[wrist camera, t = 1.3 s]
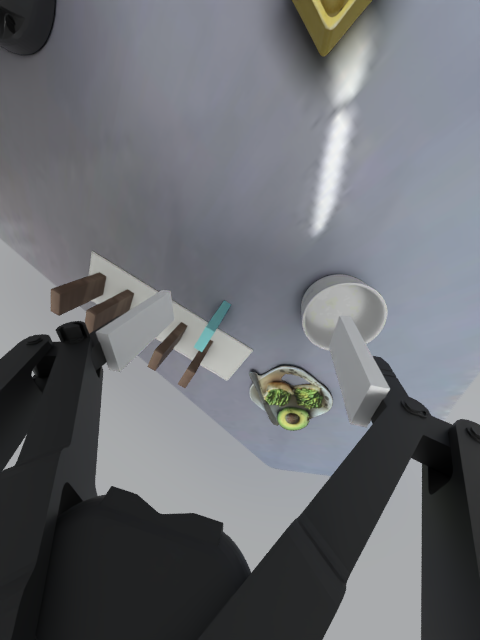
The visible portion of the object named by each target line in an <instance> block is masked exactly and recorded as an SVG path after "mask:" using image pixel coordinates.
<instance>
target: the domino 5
mask: <svg viewBox="0 0 480 640" xmlns="http://www.w3.org/2000/svg"><path fill="white" fill-rule="evenodd" d="M212 343H213V341H212V340H209V342H208V344H207V345H206V347H205V348H204V350H203V351H202V352H201V351H198V353H197V354H196V356H195V357H194V359H193V361H192V362H191V364H190V365H189V367H188V368H187V370H186V372H185V373H184V375H183V376H182V378H181V380H180V381H179V383H178V384H179V385H180V386H182V387H184V388H186V386H187V385H188V383H189V382H190V380H191V379H192V377H193V376H194V374H195V373H196V371H197V369H198V367H199V366H200V364H201V362H202V360H203V359H204V357H205V355H206V353H207V352H208V350H209V348H210V346H211V345H212Z"/></svg>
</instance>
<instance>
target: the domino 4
mask: <svg viewBox="0 0 480 640" xmlns="http://www.w3.org/2000/svg"><path fill="white" fill-rule="evenodd" d="M186 328H187V325H186V324H184V323H182V322H181V323H180V324H179V325H178V326H177V327H176V328H175V329H174V330H173V331H172V332H171V333H170V334H169V335H168V336H167V338H166V339H165V340H164V341H163V342H162V343H161V344H160V345H159V346H158V347H157V348H156V349H155V351H154V353H153V355H152V357H151V360H150V362H149V364H148V367H149V368H151V369H153V370H154V371H155V370H156V369H157V368H158V367H159V365H160V364H161V363H162V362H163V361H164V359H165V358H166V357H167V356H168V355H169V353H170V352H171V351H172V350H173V348H174V347H175V346H176V345H177V344H178V342H179V341H180V339H181V338H182V336H183V334H184V332H185V330H186Z"/></svg>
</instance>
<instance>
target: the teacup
mask: <svg viewBox="0 0 480 640" xmlns="http://www.w3.org/2000/svg"><path fill="white" fill-rule="evenodd" d="M340 315H341V316H348V317H351V318H352V320H353V321H354V323H355V325H356V327H357V329H358V331H359V332H360V334H361V336H362V338H363V340H364V342H365V343H366V344H367V343H369V342H370V341H372V340H373V339H374V338H375V337H376V336H377V335H378V334H379V333H380V332H381V330H382V329H383V327H384V325H385V322H386V318H387V306H386V303H385V300H384V299H383V297H382V296H381V294H380V293H379V292H378V291H376V290H375V289H374V288H372V287H370V286H368V285H366V284H365V283H364V282H362V281H361V280H359V279H357V278H355V277H352V276H348V275H342V274H338V275H330V276H326V277H324V278H321V279H319V280H318V281H316V282H315V283H314V284H312V285H311V286H310V287H309V288H308V290H307V291H306V293H305V294H304V296H303V299H302V303H301V317H302V327H303V330H304V333H305V335H306V336H307V338H308V339H309V340H310V341H311V342H312V343H313V344H314V345H316V346H318V347H319V348H322V349H324V350H328V351H330V348H329V345H330V342H331V339H332V336H333V333H334V330H335V327H336V324H337V321H338V318H339V316H340Z"/></svg>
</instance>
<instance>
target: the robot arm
mask: <svg viewBox="0 0 480 640" xmlns="http://www.w3.org/2000/svg"><path fill="white" fill-rule="evenodd" d="M54 7H55V0H0V46H1V47H3V48H5V49H7V50H9V51H11V52H13V53H16V54H21V55H28V54H32V53H34V52H36V51H37V50H39V49H40V48H41V47H42V46H43V44H44V43H45V41H46V40H47V38H48V35H49V33H50V30H51V27H52V22H53V16H54ZM173 321H174V313H173V305H172V297H171V291H168V290H161V291H159V292H158V293H156V294H155V295H153V296H152V297H150V298H148V299H147V300H145V301H144V302H142V303H141V304H139V305H137V306H136V307H134V308H133V309H131V310H130V311H128V312H126V313H125V314H123V315H120V316H117V317H115V318H114V319H112V320H111V321H110V322H107V323H106V324H105V325H103V326H101V327H99V328H98V329H96V330H95V331H93V332H91V333H90V334H89V332H88V329H87V327H86V324H85V323H84V322H81V321H75V322H69V323H66V324H63V325H61V326H59V327H58V328H57V329H56V331H57V334H58V336H59V338H60V340H61V342H52V340H51V338H50V337H49V335H43V334H42V335H34V336H30V337H28V338H26V339H24V340H22V341H21V342H19V343H18V344H17V345H16V346H15V347H14V348H13V349H12V350H11V351H9V352H8V353H7V354H6V355H5V356H3V357H2V358H1V359H0V640H322V639H323V637H324V635H325V633H326V631H327V629H328V628H329V626H330V624H331V622H332V620H333V618H334V616H335V614H336V612H337V610H338V608H339V605H340V603H341V601H342V599H343V597H344V594H345V591H346V583H347V580H348V578H349V576H350V573H351V571H352V570H353V568H354V566H355V564H356V562H357V560H358V558H359V556H360V554H361V552H362V550H363V549H364V547H365V545H366V543H367V541H368V539H369V537H370V535H371V533H372V531H373V529H374V528H375V526H376V524H377V522H378V520H379V518H380V516H381V514H382V512H383V510H384V508H385V506H386V504H387V502H388V501H389V499H390V497H391V495H392V493H393V491H394V489H395V487H396V485H397V483H398V482H399V480H400V478H401V476H402V474H403V472H404V470H405V468H406V466H407V464H408V462H409V460H410V459H411V458H413V459H415V460H417V461H418V462H420V463H422V593H421V606H422V607H421V612H422V613H421V640H480V425H479V424H477V423H475V422H472V421H469V420H464V419H460V420H457V421H456V422H455V423H454V424H453V425H452V424H449V423H447V422H445V421H442V420H440V419H437V418H435V417H433V416H431V414H430V413H429V411H428V409H427V408H426V407H425V406H424V405H422V404H421V403H420V402H418V401H417V400H415V399H413V398H411V397H409V396H408V395H407V393H406V392H405V390H404V388H403V387H402V385H401V384H400V382H399V380H398V379H397V378H396V375H395V374H394V372H392V369H391V367H390V366H389V364H388V363H387V362H386V361H384V360H383V359H382V358H381V357H376V356H372V354H371V353H370V351H369V349H368V347H367V345H366V343H365V342H364V340H363V338H362V336H361V334H360V332H359V331H358V329H357V327H356V325H355V323H354V321H353V320H352V318H351V317H348V316H341V315H340V316H339V318H338V321H337V324H336V327H335V330H334V333H333V336H332V339H331V342H330V345H329V348H330V352H331V356H332V359H333V363H334V367H335V370H336V374H337V378H338V381H339V385H340V389H341V392H342V396H343V400H344V403H345V407H346V411H347V414H348V418H349V422H350V424H353V425H357V426H362V427H366V428H367V426H368V424H369V423H370V421H372V423H373V425H372V426H371V427H370V428H369V430H368V431H367V432H366V433H365V435H364V436H363V437H362V438H361V440H360V441H359V442H358V443H357V445H356V446H355V447H354V448H353V450H352V451H351V452H350V453H349V455H348V456H347V457H346V458H345V460H344V461H343V462H342V463H341V465H340V466H339V467H338V468H337V470H336V471H335V472H334V474H333V475H332V476H331V477H330V479H329V480H328V481H327V482H326V484H325V485H324V486H323V487H322V489H321V490H320V491H319V492H318V494H317V495H316V496H315V497H314V499H313V500H312V501H311V502H310V504H309V505H308V506H307V507H306V509H305V510H304V511H303V513H302V514H301V515H300V516H299V517H298V518H297V519H295V520H294V521H293V523H291V525H290V526H289V527H288V528H287V529H286V531H285V532H284V533H283V534H282V536H281V537H280V538H279V539H278V541H277V542H276V543H275V545H274V546H273V547H272V548H271V549H270V551H269V552H268V553H267V554H266V556H265V557H264V558H263V559H262V561H261V562H260V563H259V564H258V566H257V567H256V568H255V569H254V570H253V572H252V573H251V571H250V569H249V567H248V564H247V562H246V560H245V558H244V556H243V554H242V553H241V551H240V550H239V548H238V547H237V545H236V544H235V543H234V542H233V541H232V539H231V538H230V537H229V536H228V535H226V534H225V533H224V532H223V523H222V522H219V521H216V520H213V519H210V518H207V517H204V516H201V515H198V514H194V513H187V514H160V513H158V512H157V511H156V510H154V509H153V508H152V507H151V506H150V505H149V504H148V503H146V502H145V501H144V500H143V499H142V498H141V497H139V496H138V495H137V494H134V493H131V492H128V491H125V490H122V489H119V488H116V487H113V486H111V488H110V489H109V491H108V492H107V494H106V495H101V496H97V493H96V488H95V475H96V461H97V448H98V434H99V421H100V408H101V393H102V380H103V369H102V365H104V364H105V363H106V362H107V365H108V368H109V370H113V371H118V372H121V371H122V370H123V369H124V368H125V367H126V366H127V365H128V364H129V363H130V362H131V361H132V360H133V359H134V358H135V357H136V356H137V355H138V354H140V353H141V352H142V351H143V350H144V349H145V348H146V347H147V346H148V345H149V344H150V343H151V342H152V341H153V340H154V339H155V338H156V337H157V336H158V335H159V334H160V333H161V332H162V331H163V330H164V329H166V328H167V327H168V326H169V325H170V324H171V323H172V322H173ZM32 370H33V372H34V374H35V375H34V376H33V377H32V376H31V373H32ZM26 435H27V436H26ZM25 436H26V439H25V442H24V444H23V447H22V450H21V452H20V455H19V457H18V461H17V462H16V464H15V466H13V467H11V468H8V469H5V470H3V469H4V468H5V466H6V465H7V463H8V461H9V460H10V459H11V457H12V456H13V454H14V452H15V451H16V449H17V448H18V446H19V445H20V444H21V442H22V441H23V439H24V438H25Z"/></svg>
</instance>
